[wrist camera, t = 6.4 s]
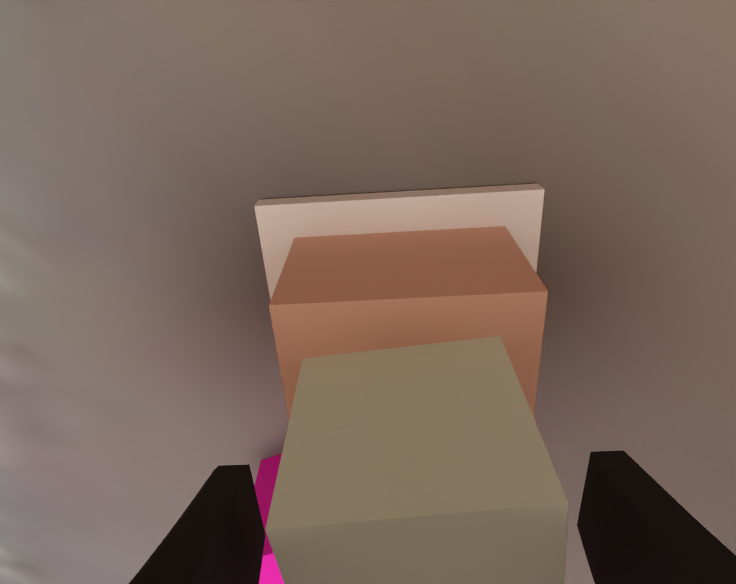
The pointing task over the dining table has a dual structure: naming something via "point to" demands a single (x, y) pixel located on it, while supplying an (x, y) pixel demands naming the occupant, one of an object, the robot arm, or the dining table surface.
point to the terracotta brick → (407, 297)
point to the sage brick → (416, 472)
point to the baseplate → (398, 217)
